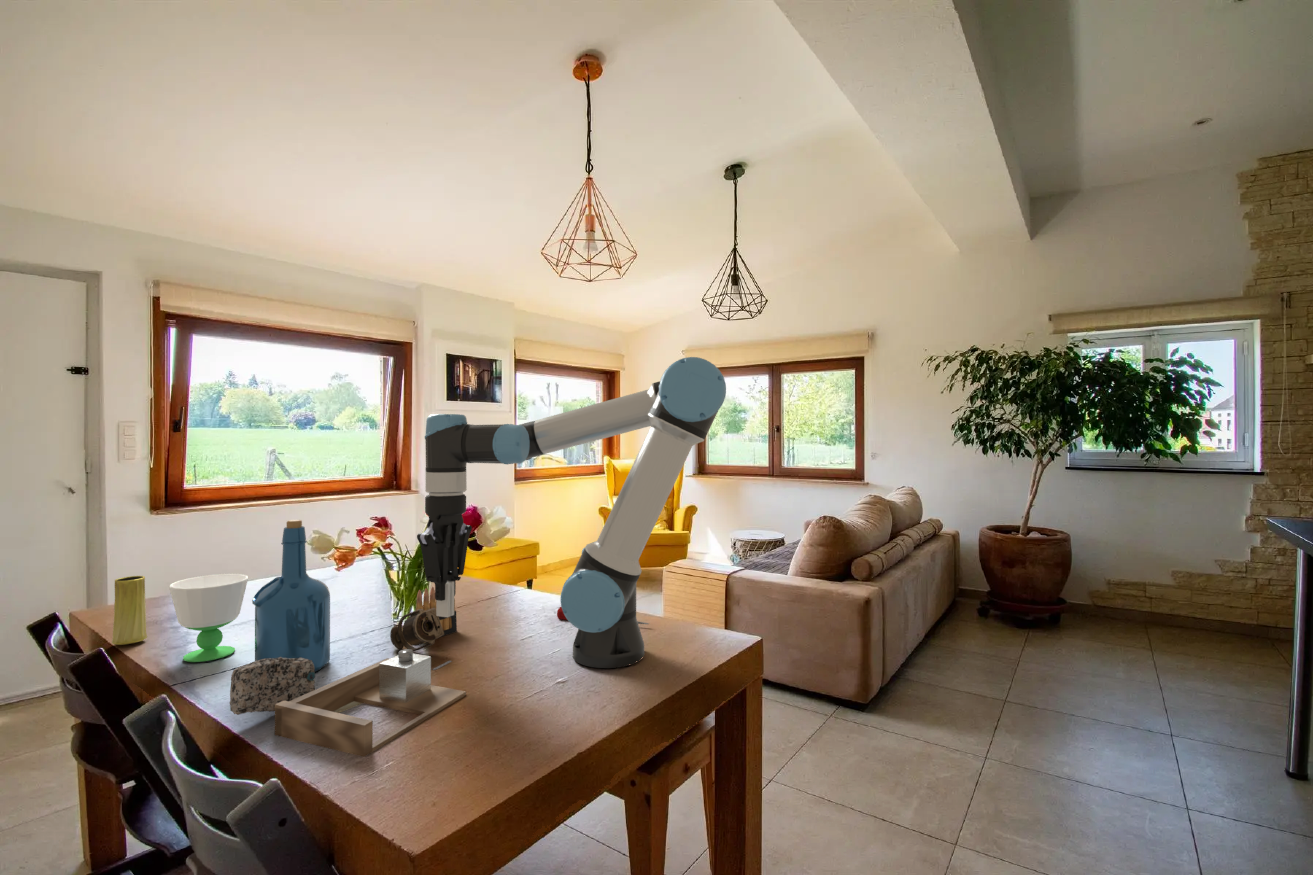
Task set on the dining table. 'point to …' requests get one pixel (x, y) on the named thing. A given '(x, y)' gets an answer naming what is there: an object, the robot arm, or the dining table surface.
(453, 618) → the ammunition clip
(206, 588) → the cup
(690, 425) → the robot arm
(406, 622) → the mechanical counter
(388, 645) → the dining table surface
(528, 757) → the dining table surface
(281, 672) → the rock
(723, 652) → the dining table surface
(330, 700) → the wooden shallow box
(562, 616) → the screwdriver
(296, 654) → the wine bottle
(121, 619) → the vase
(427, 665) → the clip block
